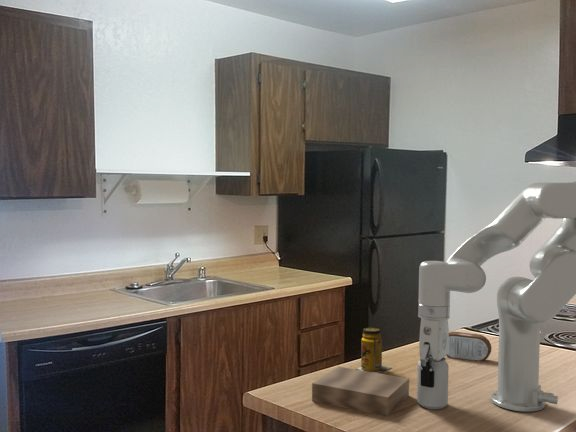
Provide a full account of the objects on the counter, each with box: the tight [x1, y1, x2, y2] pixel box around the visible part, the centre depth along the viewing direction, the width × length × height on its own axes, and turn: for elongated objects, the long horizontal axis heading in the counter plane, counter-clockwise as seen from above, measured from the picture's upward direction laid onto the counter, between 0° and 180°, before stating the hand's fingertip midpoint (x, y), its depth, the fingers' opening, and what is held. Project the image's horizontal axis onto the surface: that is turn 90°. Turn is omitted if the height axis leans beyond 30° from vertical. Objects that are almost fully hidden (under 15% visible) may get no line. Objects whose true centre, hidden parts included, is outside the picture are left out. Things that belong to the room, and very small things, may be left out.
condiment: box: [355, 327, 392, 374], centre depth 178 cm, size 7×8×12 cm
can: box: [416, 356, 449, 410], centre depth 149 cm, size 8×8×12 cm
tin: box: [446, 331, 492, 362], centre depth 188 cm, size 15×3×8 cm, turn 65°
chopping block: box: [311, 366, 410, 417], centre depth 153 cm, size 20×16×5 cm
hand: (432, 381), depth 149 cm, fingers closed on can, 7 cm apart
